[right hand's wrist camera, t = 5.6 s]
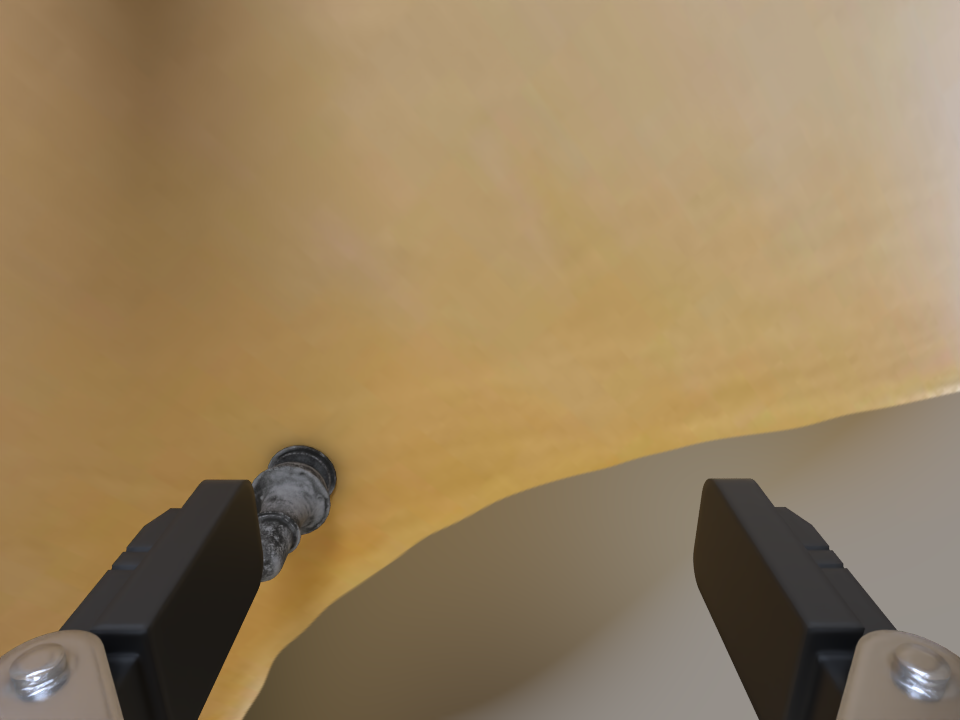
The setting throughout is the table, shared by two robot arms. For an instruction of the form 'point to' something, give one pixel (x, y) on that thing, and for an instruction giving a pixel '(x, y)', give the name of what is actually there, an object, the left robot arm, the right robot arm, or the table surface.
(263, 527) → the grey stone chess piece
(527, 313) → the table surface
